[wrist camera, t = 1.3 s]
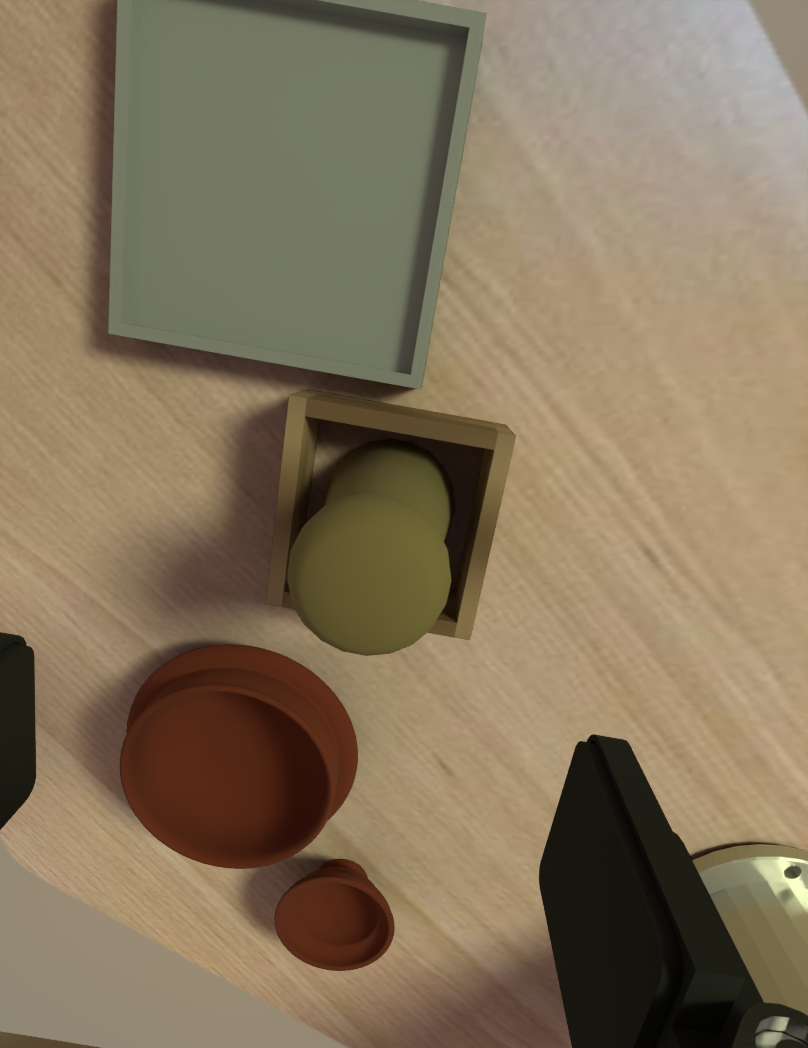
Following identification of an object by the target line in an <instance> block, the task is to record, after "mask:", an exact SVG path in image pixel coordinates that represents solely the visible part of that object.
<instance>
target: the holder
mask: <svg viewBox="0 0 808 1048" xmlns="http://www.w3.org/2000/svg"><path fill="white" fill-rule="evenodd" d="M319 419H324V420H329V421H335V422H340V423H346V424H352V425H357V426H363V427H368V428H374V429H380V430H385V431H391V432H396V433H402V434H408V435H413V436H419V437H424V438H430V439H436V440H441V441H447V442H452V443H458V444H464V445H469V446H475V447H480V448H485V450H484V455H483V460H482V464H481V469H480V474H479V479H478V483H477V488H476V493H475V498H474V502H473V507H472V512H471V517H470V521H469V526H468V531H467V535H466V540H465V545H464V550H463V554H462V559H461V564H460V569H459V573H458V578H457V583H456V587H455V591H450V590H449V594H448V598H447V603H446V605H445V607H444V608H443V610H442V612H441V613H440V615H439V617H438V618H437V620H436V621H435V623H434V625H433V626H432V628H431V629H430V630H429V631H428V632H427V633H432V634H438V635H443V636H449V637H454V638H460V639H466V640H470V638H471V634H472V629H473V625H474V620H475V616H476V611H477V607H478V602H479V598H480V594H481V589H482V585H483V580H484V576H485V571H486V567H487V562H488V558H489V554H490V549H491V545H492V540H493V536H494V531H495V527H496V522H497V518H498V514H499V509H500V505H501V500H502V496H503V491H504V487H505V483H506V478H507V474H508V469H509V465H510V460H511V456H512V451H513V447H514V443H515V438H516V435H515V434H514V433H513V432H512V431H511V430H510V429H509V427H508V426H507V425H505V424H499V423H494V422H488V421H482V420H477V419H471V418H466V417H460V416H454V415H449V414H443V413H438V412H432V411H426V410H421V409H415V408H410V407H404V406H398V405H393V404H387V403H382V402H376V401H370V400H365V399H359V398H354V397H348V396H342V395H337V394H331V393H326V392H320V391H314V390H309V389H307V390H304V391H301V392H297V393H294V394H291V395H289V402H288V411H287V419H286V428H285V437H284V446H283V455H282V463H281V472H280V481H279V490H278V499H277V508H276V516H275V525H274V534H273V543H272V552H271V560H270V569H269V578H268V587H267V596H266V604H270V605H275V606H281V607H286V608H292V609H295V607H294V606H293V604H292V600H291V595H290V590H289V585H288V567H289V559H290V552H291V549H292V547H293V545H294V543H295V541H296V539H297V537H298V535H299V533H300V531H301V529H302V528H303V526H304V525H305V524H306V519H307V512H308V504H309V496H310V488H311V481H312V473H313V465H314V457H315V450H316V442H317V434H318V427H319Z"/></svg>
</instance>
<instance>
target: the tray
mask: <svg viewBox="0 0 808 1048" xmlns="http://www.w3.org/2000/svg"><path fill="white" fill-rule="evenodd" d="M486 14H487V13H484V12H478V11H473V10H467V9H461V8H456V7H450V6H445V5H439V4H433V3H428V2H422V1H417V0H117V34H116V71H115V108H114V144H113V181H112V218H111V255H110V292H109V329H108V334H114V335H119V336H125V337H131V338H136V339H142V340H147V341H153V342H159V343H164V344H170V345H175V346H181V347H186V348H192V349H198V350H203V351H209V352H214V353H220V354H226V355H231V356H237V357H242V358H248V359H254V360H259V361H265V362H270V363H276V364H282V365H287V366H293V367H298V368H304V369H310V370H315V371H321V372H326V373H332V374H338V375H343V376H349V377H354V378H360V379H366V380H371V381H377V382H382V383H388V384H394V385H399V386H405V387H410V388H416V389H421V387H422V382H423V376H424V370H425V365H426V359H427V353H428V348H429V342H430V336H431V331H432V325H433V319H434V313H435V308H436V302H437V296H438V291H439V285H440V279H441V274H442V268H443V262H444V256H445V251H446V245H447V239H448V234H449V228H450V222H451V217H452V211H453V205H454V199H455V194H456V188H457V182H458V177H459V171H460V165H461V160H462V154H463V148H464V142H465V137H466V131H467V125H468V120H469V114H470V108H471V103H472V97H473V91H474V85H475V80H476V74H477V68H478V63H479V57H480V51H481V46H482V40H483V33H484V27H485V20H486Z"/></svg>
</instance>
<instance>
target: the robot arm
mask: <svg viewBox="0 0 808 1048" xmlns="http://www.w3.org/2000/svg"><path fill="white" fill-rule="evenodd" d="M35 780H36V741H35V675H34V651H33V649H32V648H31V647H29V646H26V642H25V640H24V638H23V637H21V636H19V635H13V634H7V633H1V632H0V830H1V828H2V827H3V826H4V825H5V824H6V823H7V822H8V820H9V819H10V818H11V817H12V816H13V815H14V814H15V813H16V811H17V810H18V809H19V808H20V807H21V806H22V805H23V803H24V802H25V801H26V800H27V798H28V797H29V795H30V793H31V792H32V789H33V787H34V784H35ZM539 884H540V891H541V896H542V900H543V905H544V910H545V915H546V920H547V925H548V930H549V935H550V940H551V945H552V950H553V955H554V960H555V965H556V970H557V975H558V980H559V985H560V990H561V995H562V999H563V1004H564V1009H565V1014H566V1019H567V1024H568V1029H569V1034H570V1039H571V1044H572V1048H808V852H807V851H805V850H801V849H796V848H792V847H787V846H782V845H765V844H755V845H744V846H735V847H731V848H726V849H722V850H718V851H714V852H711V853H709V854H706V855H704V856H701V857H699V858H696V859H694V860H692V859H691V857H690V855H689V853H688V851H687V849H686V847H685V845H684V843H683V842H682V840H681V839H680V837H679V836H678V835H677V834H676V833H674V832H673V831H672V829H671V827H670V825H669V823H668V821H667V819H666V817H665V815H664V813H663V811H662V809H661V807H660V805H659V803H658V801H657V799H656V797H655V795H654V793H653V791H652V789H651V787H650V785H649V783H648V781H647V779H646V777H645V775H644V773H643V771H642V769H641V767H640V765H639V763H638V761H637V759H636V757H635V755H634V753H633V751H632V748H631V746H630V745H629V743H628V742H627V741H626V740H623V739H617V738H611V737H605V736H600V735H594V734H593V735H591V736H590V737H589V738H588V740H587V742H583V741H580V742H578V744H577V745H576V748H575V751H574V754H573V757H572V760H571V764H570V767H569V770H568V774H567V777H566V780H565V784H564V787H563V790H562V793H561V797H560V800H559V803H558V807H557V810H556V813H555V816H554V820H553V823H552V826H551V830H550V833H549V836H548V839H547V843H546V846H545V849H544V853H543V856H542V859H541V863H540V870H539ZM0 1048H99V1047H93V1046H87V1045H81V1044H75V1043H69V1042H62V1041H57V1040H51V1039H44V1038H38V1037H32V1036H26V1035H20V1034H13V1033H7V1032H1V1031H0Z"/></svg>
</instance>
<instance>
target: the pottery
mask: <svg viewBox="0 0 808 1048" xmlns="http://www.w3.org/2000/svg"><path fill="white" fill-rule="evenodd" d="M357 763H358V749H357V741H356V736H355V732H354V728H353V725H352V723H351V720H350V718H349V716H348V714H347V712H346V710H345V708H344V706H343V705H342V703H341V702H340V700H339V699H338V697H337V696H336V695H335V693H334V692H333V691H332V690H331V689H330V688H329V687H328V686H327V685H326V684H325V683H324V682H323V681H322V680H321V679H320V678H319V677H318V676H317V675H315V674H314V673H313V672H311V671H310V670H309V669H307V668H306V667H304V666H303V665H301V664H299V663H298V662H296V661H294V660H292V659H290V658H288V657H286V656H283V655H281V654H278V653H276V652H273V651H269V650H266V649H262V648H258V647H253V646H246V645H214V646H207V647H202V648H198V649H195V650H192V651H189V652H186V653H183V654H181V655H179V656H177V657H175V658H173V659H171V660H170V661H168V662H166V663H165V664H164V665H162V666H161V667H160V668H158V669H157V670H156V671H155V672H154V673H153V674H152V675H151V676H150V677H149V678H148V679H147V680H146V681H145V683H144V684H143V685H142V687H141V688H140V690H139V691H138V693H137V695H136V697H135V699H134V701H133V704H132V706H131V709H130V713H129V717H128V723H127V735H126V737H125V740H124V743H123V746H122V750H121V756H120V776H121V782H122V786H123V790H124V793H125V796H126V798H127V800H128V803H129V805H130V807H131V808H132V810H133V812H134V813H135V815H136V816H137V818H138V819H139V820H140V822H141V823H142V824H143V825H144V827H145V828H146V829H147V830H148V831H149V832H150V833H151V834H152V835H153V836H155V837H156V838H157V839H158V840H159V841H161V842H162V843H163V844H165V845H166V846H167V847H169V848H171V849H172V850H174V851H176V852H177V853H179V854H181V855H183V856H185V857H188V858H190V859H192V860H195V861H198V862H201V863H204V864H208V865H212V866H217V867H223V868H234V869H246V868H257V867H263V866H267V865H271V864H274V863H277V862H280V861H283V860H285V859H287V858H289V857H291V856H293V855H295V854H297V853H298V852H300V851H301V850H302V849H304V848H305V847H306V846H307V845H309V844H310V843H311V842H312V841H313V840H314V839H315V838H316V837H317V835H318V834H319V833H320V831H321V830H322V829H323V827H324V825H325V824H326V822H327V820H329V819H330V818H331V817H332V816H333V815H334V814H335V813H336V812H337V810H338V809H339V808H340V807H341V805H342V804H343V803H344V801H345V799H346V798H347V796H348V794H349V792H350V790H351V788H352V785H353V782H354V779H355V775H356V771H357ZM275 927H276V931H277V934H278V936H279V938H280V940H281V942H282V943H283V945H284V946H285V947H286V948H287V950H288V951H289V952H291V953H292V954H293V955H294V956H295V957H297V958H298V959H300V960H301V961H303V962H305V963H307V964H309V965H312V966H314V967H317V968H321V969H326V970H333V971H347V970H354V969H358V968H361V967H364V966H367V965H369V964H371V963H373V962H374V961H376V960H377V959H379V958H380V957H381V956H382V955H383V954H384V953H385V952H386V951H387V949H388V948H389V946H390V944H391V942H392V939H393V936H394V919H393V915H392V913H391V910H390V908H389V905H388V903H387V901H386V899H385V898H384V896H383V895H382V894H381V893H380V891H379V890H378V889H377V888H376V887H375V886H374V884H373V883H372V882H371V881H370V880H369V879H368V877H367V874H366V872H365V871H364V869H363V868H362V867H361V866H360V865H358V864H357V863H355V862H353V861H351V860H347V859H334V860H330V861H328V862H326V863H324V864H323V865H322V866H321V867H320V869H319V870H317V871H315V872H313V873H311V874H310V875H308V876H306V877H304V878H302V879H301V880H299V881H298V882H296V883H295V884H294V885H293V886H292V887H290V889H289V890H288V891H287V892H286V893H285V894H284V895H283V897H282V898H281V900H280V901H279V903H278V905H277V908H276V912H275Z"/></svg>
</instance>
